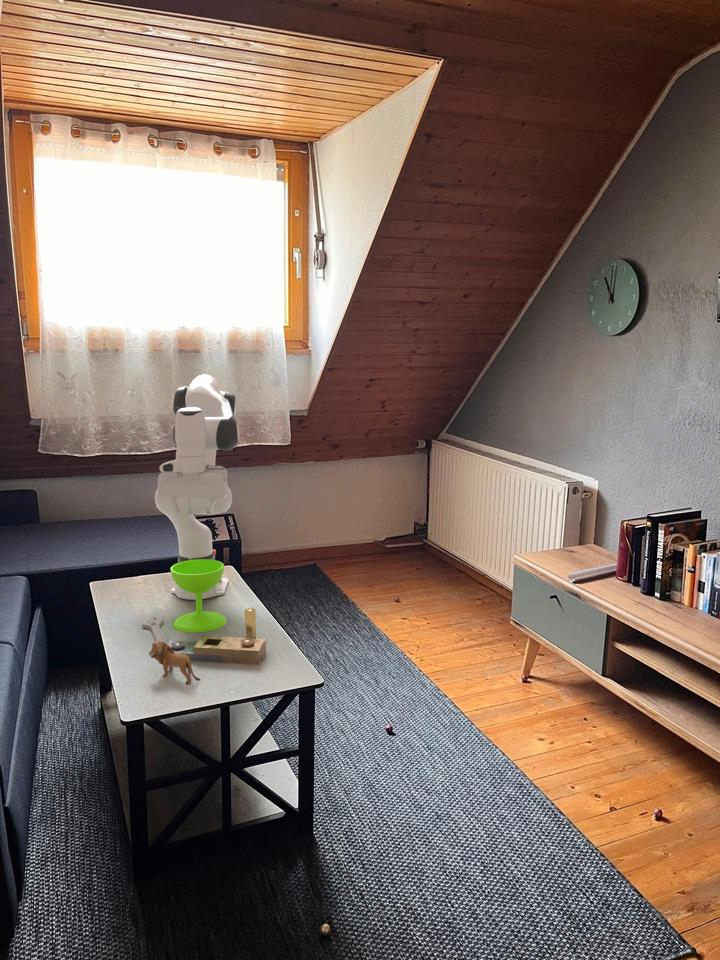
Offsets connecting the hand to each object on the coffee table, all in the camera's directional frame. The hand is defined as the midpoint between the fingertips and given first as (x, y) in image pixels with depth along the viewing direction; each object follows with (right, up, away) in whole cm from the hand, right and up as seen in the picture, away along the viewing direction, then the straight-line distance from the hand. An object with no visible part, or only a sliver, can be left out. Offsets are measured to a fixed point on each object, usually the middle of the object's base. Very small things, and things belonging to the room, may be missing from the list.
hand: (194, 512), depth 216 cm
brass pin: (+16, -38, 0) cm, 41 cm away
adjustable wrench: (-13, -37, +6) cm, 40 cm away
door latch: (+7, -39, -8) cm, 41 cm away
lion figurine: (0, -42, -22) cm, 47 cm away
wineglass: (-2, -35, +16) cm, 38 cm away
